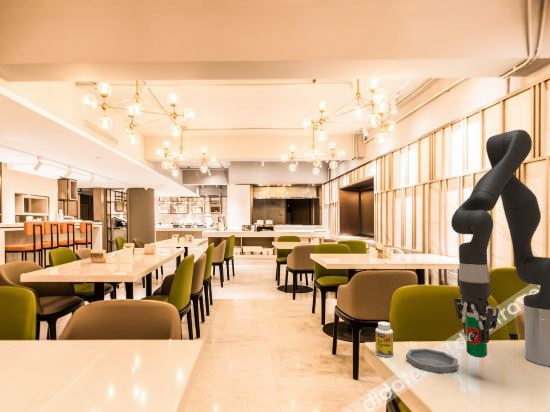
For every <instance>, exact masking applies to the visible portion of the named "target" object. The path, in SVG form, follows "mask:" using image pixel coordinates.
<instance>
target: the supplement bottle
mask: <svg viewBox="0 0 550 412" xmlns="http://www.w3.org/2000/svg"><path fill="white" fill-rule="evenodd" d="M377 325H378V326H377V327H376V328H375V353H376V355H378V356H380V357H383V358H390V357H392V356H393V355H394V330H393V329H391V323H390V322H387V321H378V322H377Z"/></svg>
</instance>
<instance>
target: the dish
mask: <svg viewBox="0 0 550 412" xmlns="http://www.w3.org/2000/svg"><path fill="white" fill-rule="evenodd" d="M405 358H406V359H407V362H408V363H409V365H411V366H413V367H414V368H417V369H419V370H422V369H423V370H422V371H425V370H426V372H429V373H436V374H449V373H454V372H456V371H457V370H458V360H459V359H458V358H456V357H454V356H452V355H450V354H448V353H447V352H445V351H441V350H435V349H429V348H414V349H412V348H411V349H409V350H408V352H406V354H405Z"/></svg>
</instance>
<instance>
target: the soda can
mask: <svg viewBox="0 0 550 412" xmlns="http://www.w3.org/2000/svg"><path fill="white" fill-rule="evenodd" d="M480 317H484V315H483V316H480ZM465 323H466V336H465V345H466V346H465V347H466V353H467V355H469V356H472V357H475V358H479V359H480V358H483V359H484V358H485V357H487V356H488V343H481V342H480V326H479V323H478V321H477V320H476V318H475V315H474V313H472V312H469V311H468V312H467V313H466V314H465ZM483 324H484V325H485V321H484V320H483Z"/></svg>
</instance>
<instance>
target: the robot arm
mask: <svg viewBox="0 0 550 412" xmlns="http://www.w3.org/2000/svg"><path fill="white" fill-rule="evenodd" d="M532 147H533V141H532V136H530V134H529V133H528V131H526V130H525V129H513V130H509V131H506V132H502V133H498V134H495V135H492V136H490V137H489V138H487V141H486V144H485V149H486V151H485V152H486V154H487V158H488V162H489V164H490V166H491V169H489V170H488V171H487V172H485V174H484V175H482V177H481V178H479V180H478V181H477V182H476V184H475V186H474V188H473V190H472V192H471V194H470V195H469V197H468V198H467V199H466V200H465V201H464V202H463V203H462V204H460V206H459V207H458V208H457V209H455V211H454V212H453V215H452V217H451V220H450V221H451V222H450V223H451V228H452V230H453V231H454V232H455V233H457V234H459V235H472V238H471V239H470V241H468V242H463V243H460V245H458V246H459V247H458V258H459V261H458V262H459V266H458V284H459V287H458V288H459V294H460V295H461V297H455V298H454V299H453V302H454V306H455V313H456V317H457V319H458V320H459V319H460V320H461V323H463V324H462V325H463V333H464V336H465V337H466V323H465V314H466V313H467V312H468V311H469V312H472V313H474V315H475V318H476V320H477V321H478V323H479V326H480V342H481V343H487V344H489V342H490V340H491V339H490V330H495V329H496V328H497V324H498V318H499V311H500V310H499V308H497V307H492V306H491V305H490V303H489V297H491V289H490V272H489V265H488V248H489V243H490V241H491V240H490V239H491V235H492V233H493V229H494V219H493V217H492V215H491V214H490V213H489V212H490V211H492V210H493V209H494V208H495V207H496V204H497V203H498V201H499V198H500V199H501V204H502V207H503V211H504V215H505V219H506V222H507V226H508V230H509V235H510V239H511V245H512V251H513V259H514V260H513V261H514V267H515V271H516V274H517V278H519V280H520V281H521V282H523V283H524V284H525V283H526V284H530V285H535V286H540V287H539V291H538V292H536V293H534V294H527V295H526V294H525V295H524V296H523V313H524V315H523V316H524V318H523V319H524V321H523V322H524V349H525V350H524V352H525V353H524V354H525V358H526V359H527V360H528V361H530V362H531V363H534V364H538V365H541V366H547V367H550V257H546V256H545V257H543V256H535V255H534V254H533V249H532V239H533V237H534V235H535V233H536V231H537V229H538V227H539V225H540V223H541V219H542V213H541V210H540V207H539V202H538V198H537V196H536V194H535V193H534V192H533V191H532V189H530V188H529V187H528V186H527V185H526V184H525V183H523V182H522V181H521V180H520V179H519V177H517V176H516V175H515V173H516V172H517V170H518V169H519V168H520V167H521V165H522V164H523V163H524V161H525V160H526V159H527V157H528V156H529V154H530V153H531V151H532ZM483 315H484V317H480V316H483ZM483 320H484V321H485V325H484V324H483Z"/></svg>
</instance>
